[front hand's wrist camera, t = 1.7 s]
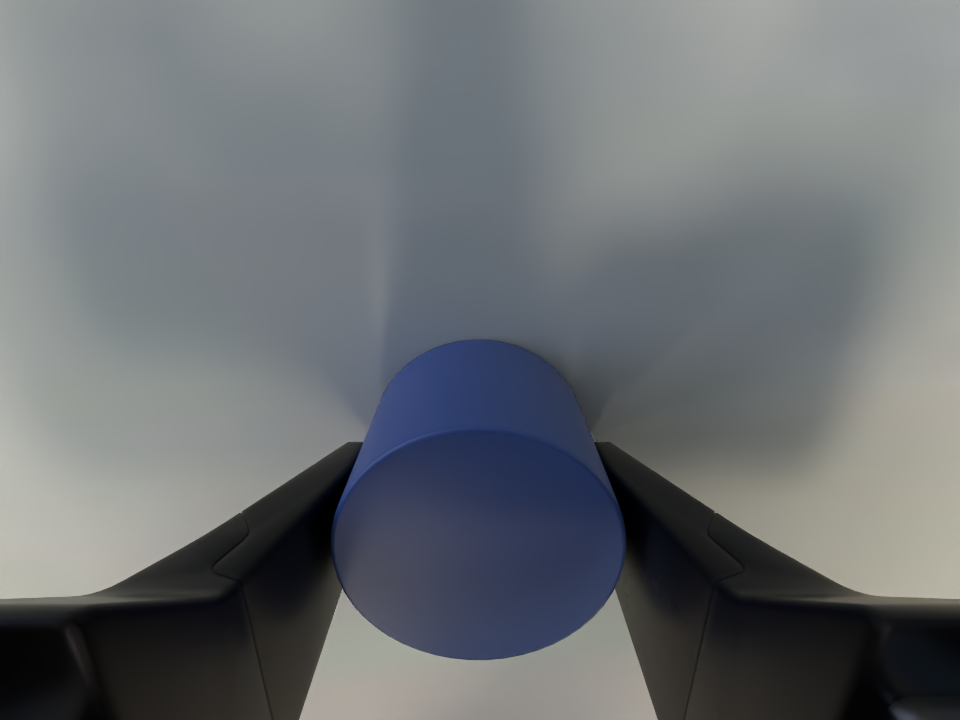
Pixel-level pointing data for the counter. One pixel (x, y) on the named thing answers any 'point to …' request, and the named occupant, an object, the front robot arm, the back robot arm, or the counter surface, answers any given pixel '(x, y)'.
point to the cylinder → (478, 508)
